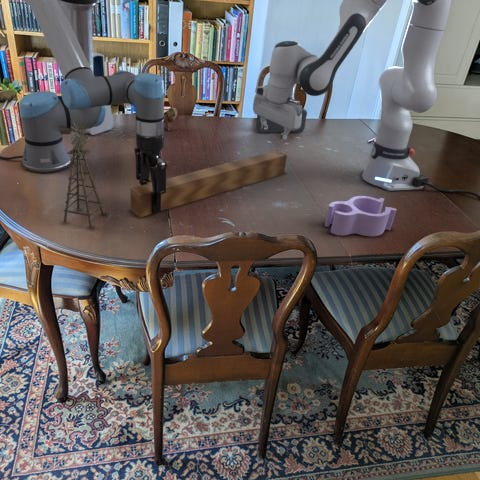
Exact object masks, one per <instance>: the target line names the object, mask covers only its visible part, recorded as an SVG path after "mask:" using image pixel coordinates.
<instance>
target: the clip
mask: <svg viewBox="0 0 480 480" xmlns="http://www.w3.org/2000/svg"><path fill="white" fill-rule="evenodd" d="M384 201H385V198H383V197H379V198H376V197H373V196H368V195H357V196H352V197H350V198H349V200H347V201H339V200H338V201H337V200H335V201H332V202H330V203H329V205H328V208H327V214H326V218H325V222H324V227H326V228H329V227H330V226H331V227H330V233H331V234H333V235H336V236H348V235H353V234H356V235H360V236H364V237H365V236H366V237H378V236H381V235H382V234H384V232H385V230H387V231H391V229H392V226H393V222H394V219H395V216H396V213H397V210H398V209H397V208H395V207H391V206H385V207H384V211H383V212H382V209H383V206H384Z"/></svg>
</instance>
